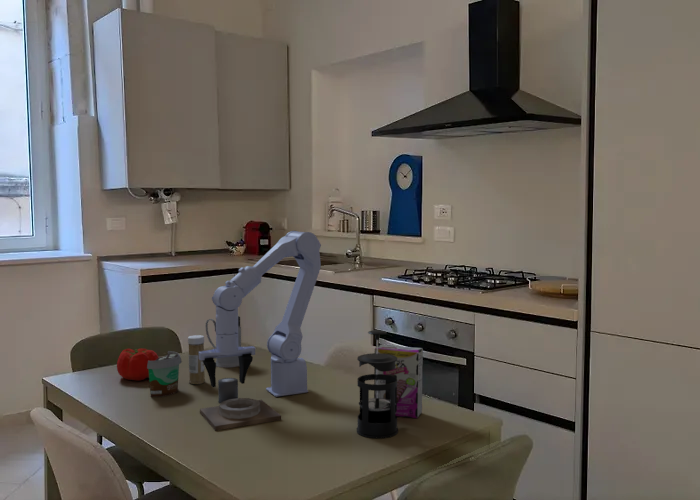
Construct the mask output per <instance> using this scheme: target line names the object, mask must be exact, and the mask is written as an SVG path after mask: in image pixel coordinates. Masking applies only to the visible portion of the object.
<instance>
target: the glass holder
mask: <svg viewBox="0 0 700 500" xmlns="http://www.w3.org/2000/svg"><path fill="white" fill-rule="evenodd" d="M210 321H212V323H213V326H214V332H215V333H216V320H215V319H214V318H209V319H207V320H206V322H205V332H206V333H205V334H206V337H207V339H208V342H209V343H210V345H211V346H212V348H213V349H216V344H214V343H213V341H212V339H211V337H210V334H209V330H208V329H209V328H208V327H209V326H208V325H209V324H208V323H209V322H210ZM238 343H239V347H242V327H241V316H239V315H238ZM215 359H216V360H215V363H216V367H217V368H218V367H219V368H235V367H239V358H238V356H233V357H223V358H215Z"/></svg>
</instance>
